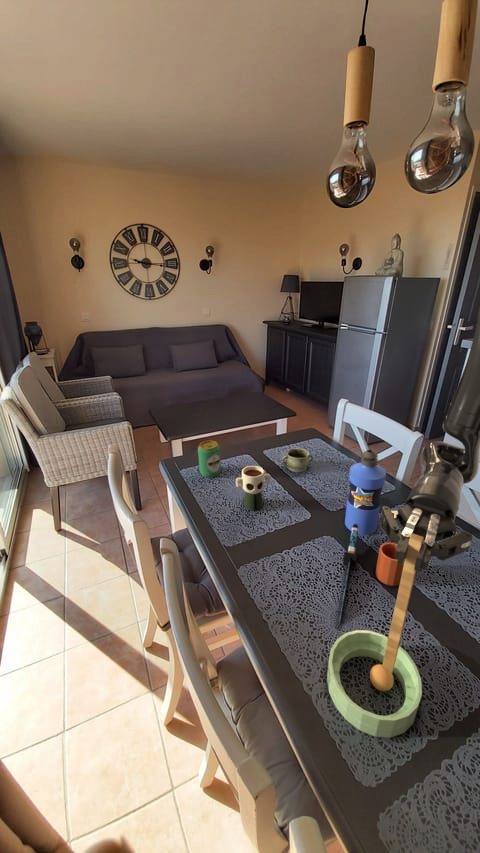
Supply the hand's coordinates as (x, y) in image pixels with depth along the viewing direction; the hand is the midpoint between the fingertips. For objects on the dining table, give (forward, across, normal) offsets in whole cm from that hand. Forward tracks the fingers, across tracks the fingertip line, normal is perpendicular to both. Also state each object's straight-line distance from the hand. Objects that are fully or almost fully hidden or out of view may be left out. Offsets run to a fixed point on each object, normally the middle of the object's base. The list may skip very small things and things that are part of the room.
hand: (409, 562), depth 50 cm
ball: (-1, -2, +30) cm, 30 cm away
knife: (-24, -15, +33) cm, 44 cm away
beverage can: (-44, -76, +32) cm, 94 cm away
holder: (-30, -7, +33) cm, 45 cm away
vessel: (-66, -51, +33) cm, 89 cm away
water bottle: (-45, -19, +33) cm, 59 cm away
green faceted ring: (-2, -2, +33) cm, 33 cm away
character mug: (-36, -51, +33) cm, 71 cm away
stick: (0, 0, +22) cm, 22 cm away
